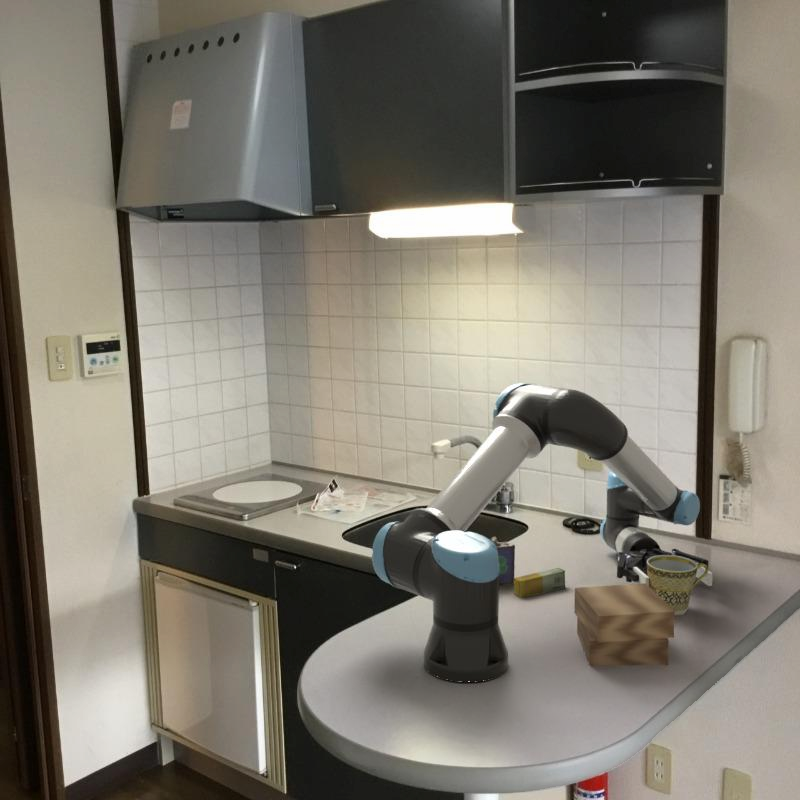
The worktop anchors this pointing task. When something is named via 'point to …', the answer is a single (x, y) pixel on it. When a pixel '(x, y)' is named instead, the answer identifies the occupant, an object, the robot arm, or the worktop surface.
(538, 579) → the medication box
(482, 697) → the worktop surface
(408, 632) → the worktop surface
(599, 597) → the tower top block
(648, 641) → the tower bottom block
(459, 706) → the worktop surface
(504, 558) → the flask
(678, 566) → the ceramic cup
